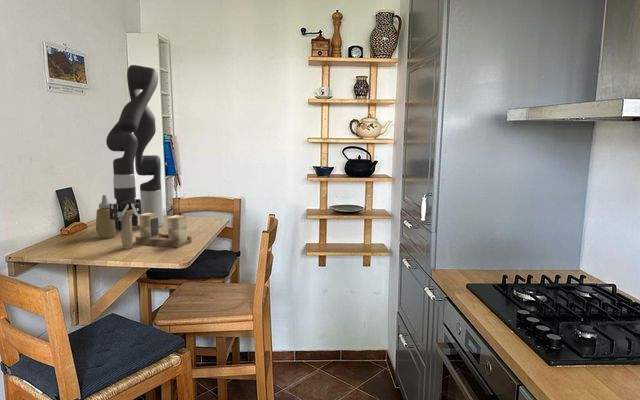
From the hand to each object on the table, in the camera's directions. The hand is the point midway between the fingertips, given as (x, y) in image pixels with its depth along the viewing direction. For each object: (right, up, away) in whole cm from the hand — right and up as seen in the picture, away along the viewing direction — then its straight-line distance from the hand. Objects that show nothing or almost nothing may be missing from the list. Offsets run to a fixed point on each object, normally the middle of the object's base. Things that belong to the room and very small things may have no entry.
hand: (127, 228), depth 167 cm
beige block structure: (+10, -7, +11) cm, 16 cm away
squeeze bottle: (-16, -5, +18) cm, 25 cm away
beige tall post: (0, -8, +2) cm, 8 cm away
